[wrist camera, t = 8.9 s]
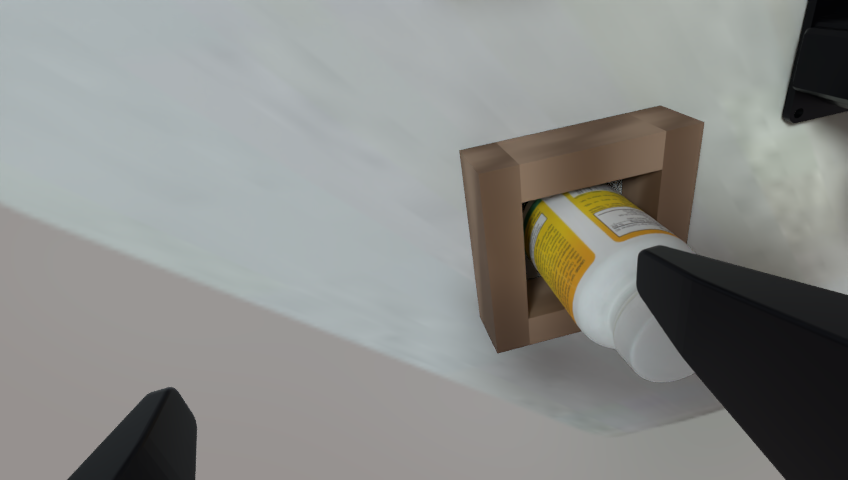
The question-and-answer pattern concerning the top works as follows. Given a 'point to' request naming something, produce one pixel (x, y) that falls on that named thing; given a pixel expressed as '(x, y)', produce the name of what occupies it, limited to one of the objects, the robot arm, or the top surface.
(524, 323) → the socket block
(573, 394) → the top surface
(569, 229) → the supplement bottle
